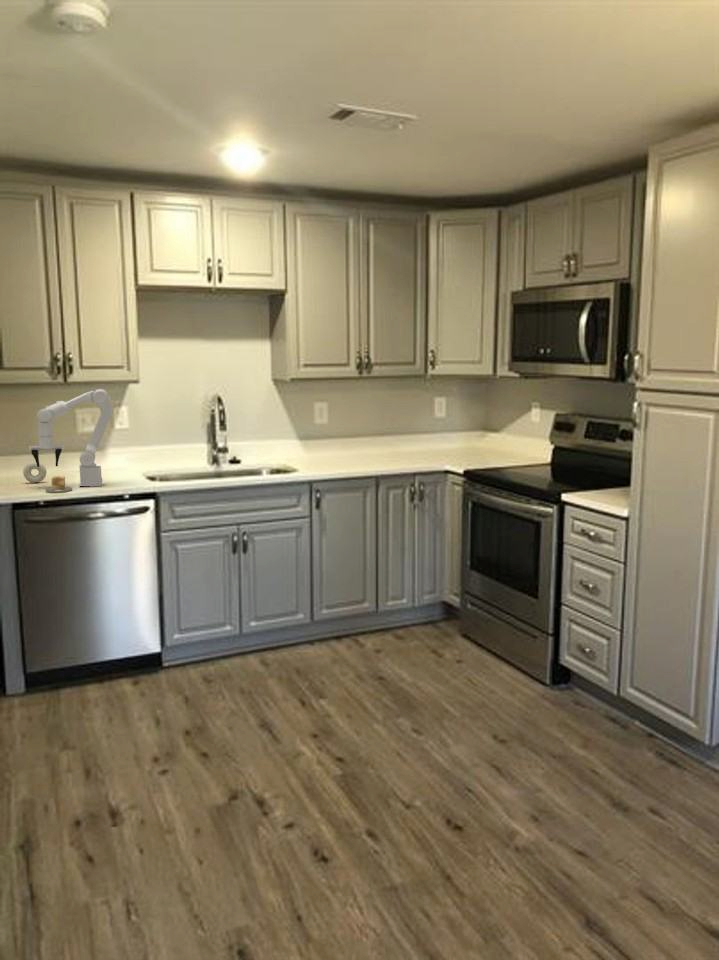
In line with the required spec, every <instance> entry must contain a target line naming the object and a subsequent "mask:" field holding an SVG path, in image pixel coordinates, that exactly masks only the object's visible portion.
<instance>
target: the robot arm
mask: <svg viewBox="0 0 719 960" xmlns="http://www.w3.org/2000/svg"><path fill="white" fill-rule="evenodd" d="M93 402H94V403H95V404H96V405H97V406H98V409H99V410H100V412H101V413H100V415H99V418H98V420H97V422H96V424H95V427H94V430H93V432H92V433H91V436H90V437H89V441H88V443H87V445H86V448H85V449H84V451H82V452H81V454H80V457H79V462H80V464H79V466H78V467H79V479H80V480H79V481H80V483H79V485H78V487H79V486H90V487H102V485H103V476H102V466H101V465H97V464H96V463H95V460H96V453H97V450H98V448H99V446H100V443H101V441H102V438H103V436H104V434H105V431H106V429H107V427H108V424H109V422H110V419H111V417H112V415H113V411H114V410H113V406H112V402H111V397H110V395H109V394H108V392H107V391H106V390H105V389H103V388H97V389H96V390H91V391H88V392H85V393H82V394H80V395H78V396H76V397H73V398H72V399H70V400H67V401H64V400H57V401H56V402H55V403H53V404H51V405H49V406H48V405H46V406H45V408H42V409H40V410H39V411H38V412H37V413H36V418H37V420H38V421H37V423H38V426H37V428H38V429H37V431H38V441H39V442H38V443H39V444H38V445H29V446H28V452H31V455H32V456H33V458H34V460H35V461H34V462H36V463H37V467H39V463H40V459H39V458H40V456H39V455H40V454H39V451H54V454H55V467H58V466H59V460H60V456H61V453H62V451H64V450H65V445H64V444H54V436H53V424H52V419H56V418H58V417H61V416H63V415H65V414H67V413H68V412H69V410H70V409H71V408H73V407H76V406H78V405H81V404H83V403H93Z"/></svg>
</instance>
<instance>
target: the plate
mask: <svg viewBox="0 0 719 960" xmlns="http://www.w3.org/2000/svg"><path fill="white" fill-rule="evenodd" d="M44 490H45V491H46V492H45V493H47V492H48V493H47V494H64V493H68V492H69V491H70V492H72V491H73V487H72V486H65V489H61V490H52V486H51V487H46V488H45V489H44ZM71 490H72V491H71Z"/></svg>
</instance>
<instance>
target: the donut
mask: <svg viewBox="0 0 719 960" xmlns="http://www.w3.org/2000/svg"><path fill="white" fill-rule="evenodd" d="M33 470H36V471H38V474H37V475H33V474H32V471H33ZM22 473H23V477H24V479H25V480H26V481H28V482H29V483H32V484H37V483H36V482H38V483H41V482H42V481H44V479H46V476H47V468H46V467H45V465H44V464H43V463H41V462H39V467H37V463H36V461H30V462H28V463H26V465H25V466H24V468H23V472H22Z"/></svg>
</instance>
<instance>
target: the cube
mask: <svg viewBox="0 0 719 960" xmlns="http://www.w3.org/2000/svg"><path fill="white" fill-rule="evenodd" d="M51 487H52V490H61V489H65V487H66V477H65V475H61V476H60V475H58V476H52V477H51Z"/></svg>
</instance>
